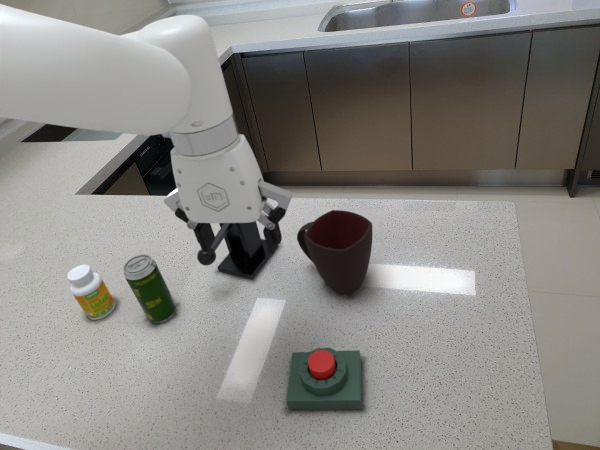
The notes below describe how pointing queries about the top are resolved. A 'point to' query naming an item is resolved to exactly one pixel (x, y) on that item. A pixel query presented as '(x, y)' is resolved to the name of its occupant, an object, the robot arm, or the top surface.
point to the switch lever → (214, 246)
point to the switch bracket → (244, 251)
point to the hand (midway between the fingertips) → (241, 246)
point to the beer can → (149, 288)
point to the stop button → (321, 364)
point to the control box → (325, 383)
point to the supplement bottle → (90, 292)
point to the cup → (339, 248)
